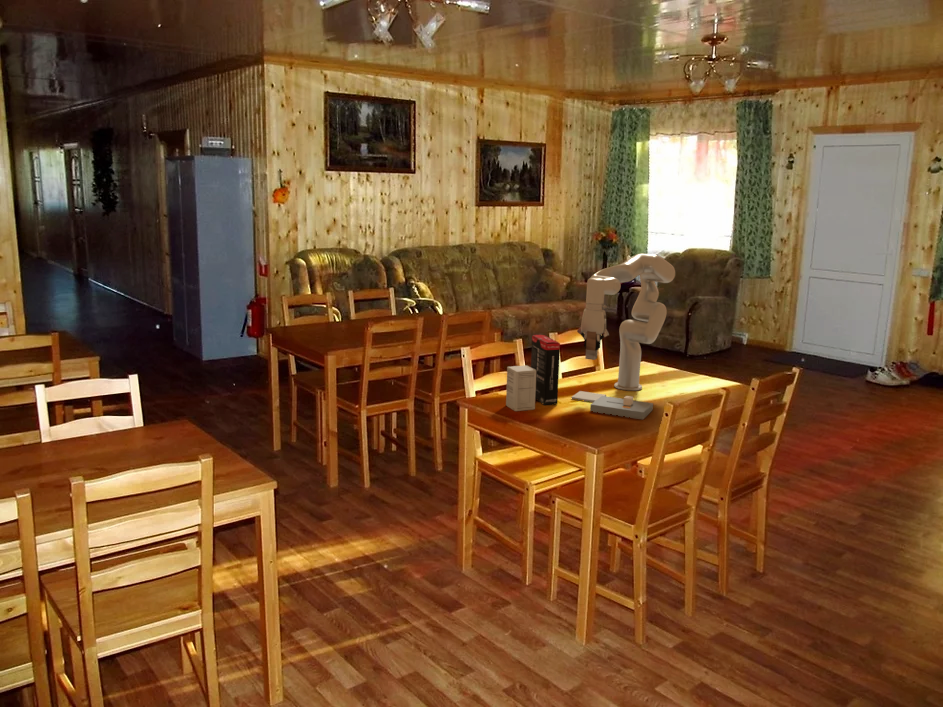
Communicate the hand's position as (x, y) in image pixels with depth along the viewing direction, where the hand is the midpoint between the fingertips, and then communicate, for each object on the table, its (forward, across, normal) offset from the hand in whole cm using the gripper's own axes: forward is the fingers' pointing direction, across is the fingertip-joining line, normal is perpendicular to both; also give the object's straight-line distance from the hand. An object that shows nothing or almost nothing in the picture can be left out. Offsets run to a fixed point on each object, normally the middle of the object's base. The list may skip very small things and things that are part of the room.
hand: (591, 348), depth 346 cm
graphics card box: (+22, +16, +14) cm, 31 cm away
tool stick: (+4, 0, 0) cm, 4 cm away
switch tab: (+19, -20, +12) cm, 30 cm away
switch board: (+22, -18, +12) cm, 31 cm away
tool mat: (+22, 0, 0) cm, 22 cm away
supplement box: (+22, +20, +30) cm, 42 cm away
